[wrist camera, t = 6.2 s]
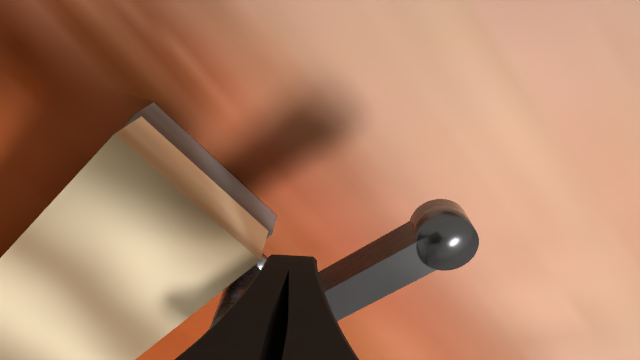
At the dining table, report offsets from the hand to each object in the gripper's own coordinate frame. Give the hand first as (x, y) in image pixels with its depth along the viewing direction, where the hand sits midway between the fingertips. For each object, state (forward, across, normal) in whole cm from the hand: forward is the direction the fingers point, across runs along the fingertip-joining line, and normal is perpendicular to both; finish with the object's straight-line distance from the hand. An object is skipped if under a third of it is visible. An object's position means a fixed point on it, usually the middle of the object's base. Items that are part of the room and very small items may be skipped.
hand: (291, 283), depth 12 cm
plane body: (+6, +12, +7) cm, 15 cm away
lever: (+5, -1, +1) cm, 6 cm away
